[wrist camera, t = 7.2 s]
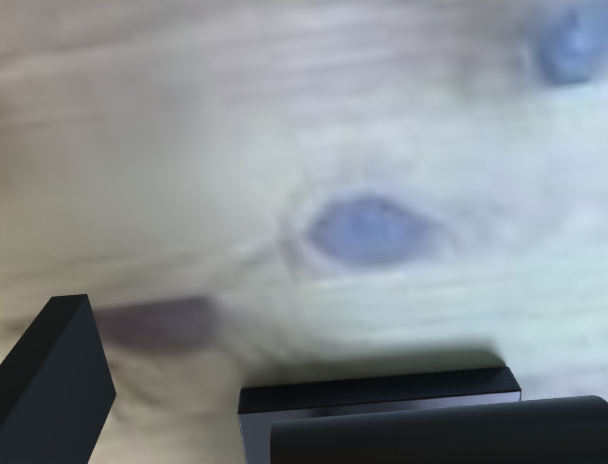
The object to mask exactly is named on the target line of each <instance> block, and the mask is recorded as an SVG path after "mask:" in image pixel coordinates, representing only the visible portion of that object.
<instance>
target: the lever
mask: <svg viewBox="0 0 608 464" xmlns="http://www.w3.org/2000/svg"><path fill="white" fill-rule="evenodd" d="M270 464H608V402H606V401H605V400H604V399H603V398H601V397H598V396H595V395H589V396H577V397H565V398H552V399H540V400H528V401H516V402H503V403H491V404H479V405H466V406H454V407H442V408H430V409H417V410H405V411H393V412H381V413H368V414H356V415H344V416H331V417H319V418H307V419H295V420H282V421H274V422H273V423H272V425H271V430H270Z"/></svg>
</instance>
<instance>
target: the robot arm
mask: <svg viewBox="0 0 608 464" xmlns="http://www.w3.org/2000/svg"><path fill="white" fill-rule="evenodd" d="M115 397H116V391H115V388H114V384H113V381H112V377H111V374H110V371H109V367H108V364H107V360H106V357H105V353H104V350H103V346H102V343H101V340H100V336H99V333H98V329H97V326H96V322H95V319H94V316H93V312H92V309H91V305H90V302H89V298H88V295H87V294H79V295H67V296H56V297H51V298H50V300H49V301H48V302H47V304H46V305H45V306H44V308H43V309H42V310H41V312H40V313H39V314H38V316H37V317H36V318H35V319H34V321H33V322H32V323H31V325H30V326H29V327H28V329H27V330H26V331H25V333H24V334H23V335H22V337H21V338H20V339H19V341H18V342H17V343H16V345H15V346H14V347H13V348H12V350H11V351H10V352H9V354H8V355H7V356H6V358H5V359H4V360H3V362H2V363H1V364H0V464H88V461H89V459H90V456H91V454H92V452H93V449H94V447H95V445H96V442H97V440H98V438H99V435H100V433H101V430H102V428H103V426H104V423H105V421H106V419H107V416H108V414H109V411H110V409H111V407H112V404H113V402H114V400H115Z"/></svg>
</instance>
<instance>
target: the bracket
mask: <svg viewBox="0 0 608 464" xmlns="http://www.w3.org/2000/svg"><path fill="white" fill-rule="evenodd" d="M516 401H521V388H520V386H519V384H518V383H517V381H516V379H515V377H514V376H513V374H512V372H511V370H510V368H509V367H496V368H484V369H472V370H460V371H448V372H435V373H423V374H411V375H399V376H387V377H375V378H363V379H351V380H338V381H326V382H314V383H302V384H290V385H278V386H266V387H254V388H242V389H241V390H240V396H239V404H238V412H237V414H238V420H239V425H240V431H241V437H242V442H243V448H244V453H245V459H246V464H270V430H271V425H272V423H273V422H274V421H282V420H295V419H307V418H319V417H331V416H344V415H356V414H368V413H381V412H393V411H405V410H417V409H430V408H442V407H454V406H466V405H479V404H491V403H503V402H516Z"/></svg>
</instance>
